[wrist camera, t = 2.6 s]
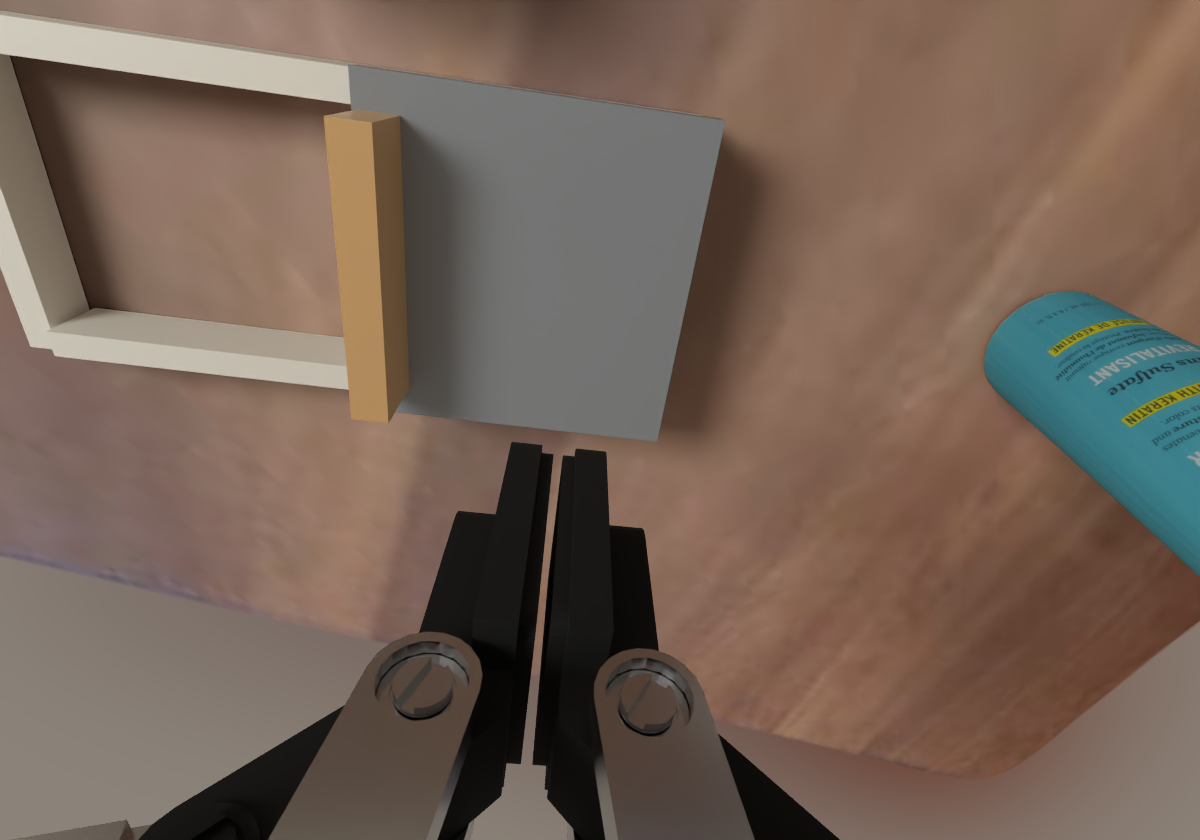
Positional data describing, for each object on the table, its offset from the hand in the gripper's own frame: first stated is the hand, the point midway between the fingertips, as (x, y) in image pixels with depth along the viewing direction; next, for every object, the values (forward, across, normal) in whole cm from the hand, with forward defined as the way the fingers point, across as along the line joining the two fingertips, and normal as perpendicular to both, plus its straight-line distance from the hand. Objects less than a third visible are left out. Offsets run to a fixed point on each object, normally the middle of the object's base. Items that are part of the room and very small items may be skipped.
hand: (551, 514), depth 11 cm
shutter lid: (+12, +2, -1) cm, 12 cm away
